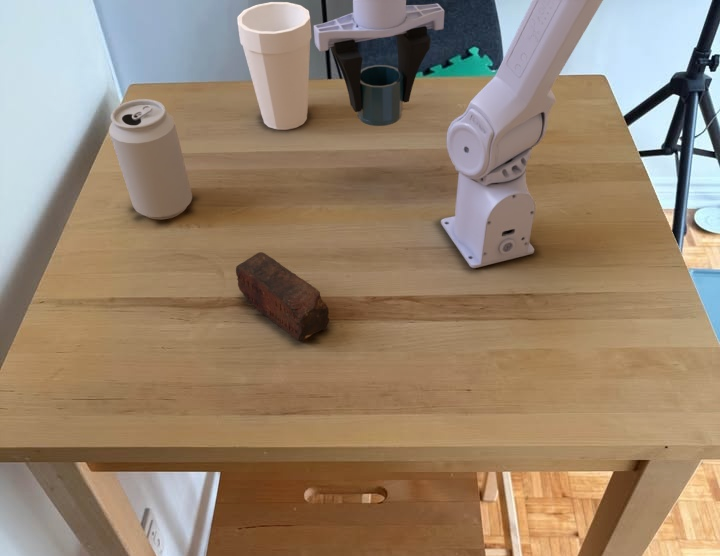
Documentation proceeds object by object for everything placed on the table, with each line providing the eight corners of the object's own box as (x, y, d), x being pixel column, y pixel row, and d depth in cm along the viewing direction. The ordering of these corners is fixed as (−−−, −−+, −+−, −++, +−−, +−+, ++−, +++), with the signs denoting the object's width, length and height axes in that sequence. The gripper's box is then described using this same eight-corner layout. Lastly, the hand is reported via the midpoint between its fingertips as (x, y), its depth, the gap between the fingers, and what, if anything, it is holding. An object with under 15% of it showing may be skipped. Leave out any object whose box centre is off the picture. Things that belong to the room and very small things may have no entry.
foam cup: (322, 102, 104) (314, 2, 93) (313, 136, 99) (304, 34, 88) (258, 101, 105) (244, 1, 94) (246, 134, 99) (229, 33, 89)
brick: (240, 300, 79) (232, 265, 75) (267, 283, 81) (261, 248, 77) (303, 347, 75) (299, 313, 71) (331, 328, 76) (328, 293, 72)
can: (123, 204, 90) (92, 110, 81) (174, 181, 93) (149, 87, 83) (153, 231, 87) (124, 135, 77) (205, 206, 90) (183, 111, 80)
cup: (409, 121, 85) (410, 82, 81) (365, 129, 84) (364, 90, 80) (393, 100, 88) (393, 61, 84) (351, 108, 87) (349, 69, 84)
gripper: (429, -54, 77) (424, 76, 88) (301, -33, 75) (312, 98, 86) (455, -30, 73) (446, 103, 84) (320, -7, 71) (329, 127, 82)
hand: (380, 103), depth 85 cm, fingers closed on cup, 5 cm apart
